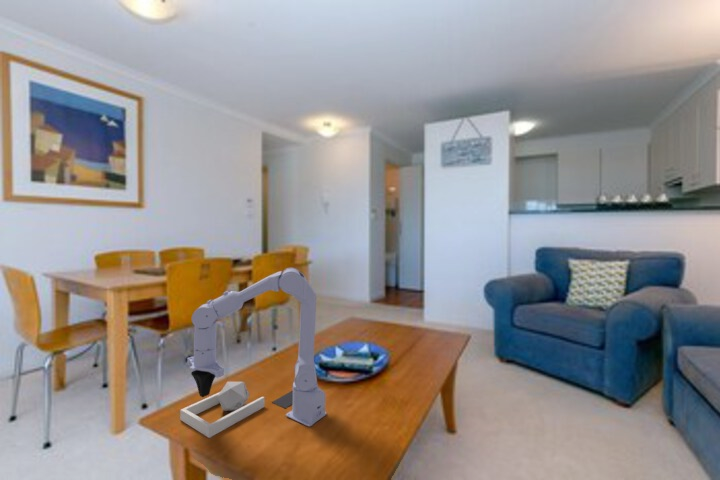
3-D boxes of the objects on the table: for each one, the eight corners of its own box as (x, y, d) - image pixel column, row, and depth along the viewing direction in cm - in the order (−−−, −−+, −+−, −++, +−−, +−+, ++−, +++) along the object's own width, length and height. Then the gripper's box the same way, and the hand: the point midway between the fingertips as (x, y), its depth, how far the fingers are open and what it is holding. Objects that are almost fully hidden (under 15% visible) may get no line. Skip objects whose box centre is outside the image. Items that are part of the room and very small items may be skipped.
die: (229, 422, 94) (250, 391, 97) (206, 404, 95) (228, 374, 98) (238, 416, 102) (258, 388, 104) (217, 400, 103) (237, 372, 106)
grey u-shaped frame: (264, 406, 101) (264, 397, 101) (209, 437, 86) (209, 426, 86) (236, 393, 109) (236, 384, 109) (180, 419, 93) (180, 409, 93)
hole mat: (307, 395, 109) (307, 394, 109) (285, 408, 100) (285, 408, 100) (294, 390, 112) (294, 389, 112) (271, 402, 104) (271, 402, 104)
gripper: (176, 345, 92) (176, 393, 92) (206, 358, 84) (206, 409, 84) (200, 339, 98) (200, 383, 98) (230, 350, 90) (230, 398, 90)
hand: (204, 395), depth 92 cm, fingers closed
